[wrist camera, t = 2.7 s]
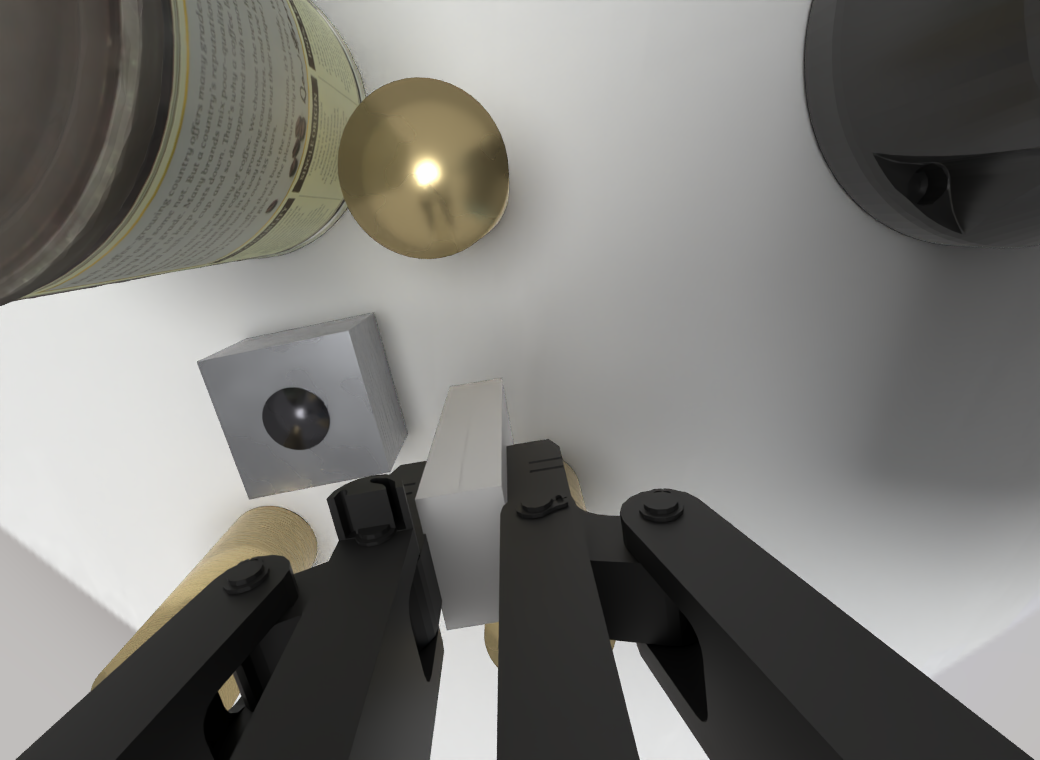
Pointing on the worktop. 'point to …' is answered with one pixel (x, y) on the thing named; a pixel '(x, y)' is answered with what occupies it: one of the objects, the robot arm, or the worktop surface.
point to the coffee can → (164, 136)
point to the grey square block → (307, 405)
